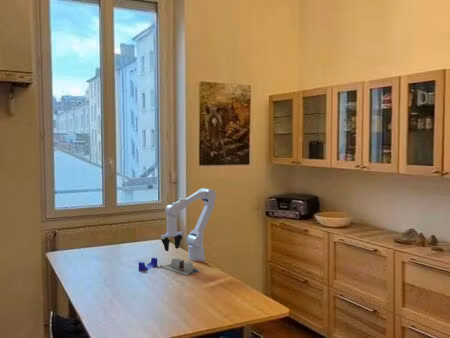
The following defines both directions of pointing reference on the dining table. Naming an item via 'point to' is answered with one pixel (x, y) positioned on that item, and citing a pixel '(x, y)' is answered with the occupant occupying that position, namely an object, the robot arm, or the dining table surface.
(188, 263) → the small hollow grey box
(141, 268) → the cable clip
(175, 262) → the pale grey block
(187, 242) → the robot arm
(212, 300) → the dining table surface
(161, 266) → the rail
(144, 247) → the dining table surface
